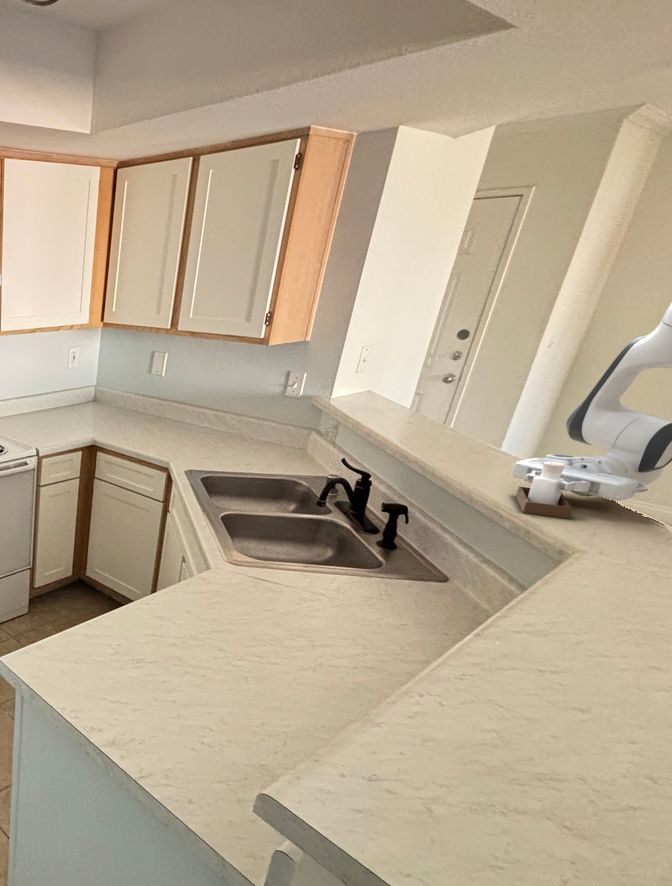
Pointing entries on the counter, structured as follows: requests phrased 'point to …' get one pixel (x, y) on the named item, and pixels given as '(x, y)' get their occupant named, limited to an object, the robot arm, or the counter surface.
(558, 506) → the tray
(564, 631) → the counter surface
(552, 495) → the pepper shaker
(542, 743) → the counter surface
